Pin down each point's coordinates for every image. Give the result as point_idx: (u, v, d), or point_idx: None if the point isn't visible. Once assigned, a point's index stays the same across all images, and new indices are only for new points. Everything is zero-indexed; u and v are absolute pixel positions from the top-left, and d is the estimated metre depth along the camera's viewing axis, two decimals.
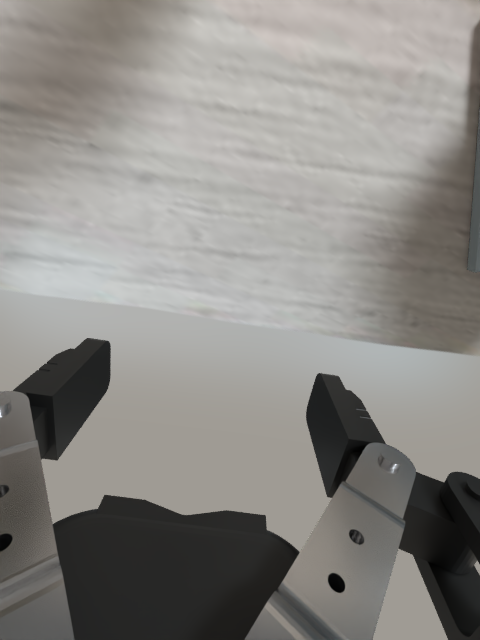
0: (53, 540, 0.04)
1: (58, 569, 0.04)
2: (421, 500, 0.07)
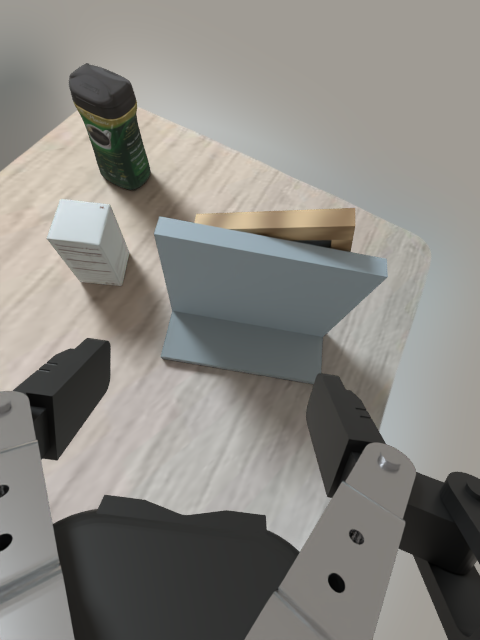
0: (53, 540, 0.04)
1: (58, 569, 0.04)
2: (421, 500, 0.07)
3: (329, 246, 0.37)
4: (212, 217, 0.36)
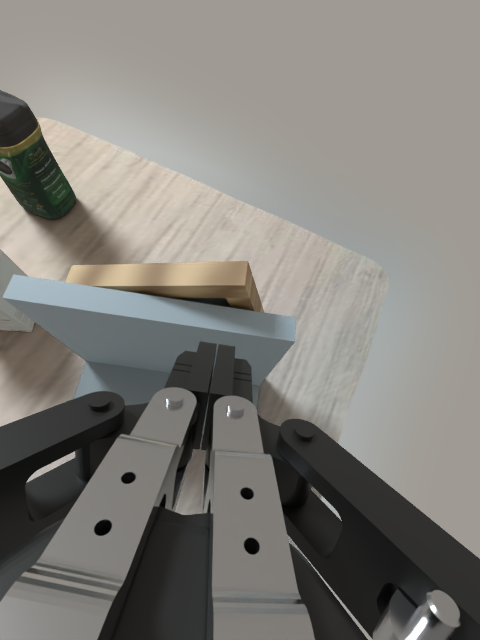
0: (132, 557, 0.04)
1: (113, 595, 0.04)
2: None
3: None
4: (88, 270, 0.30)
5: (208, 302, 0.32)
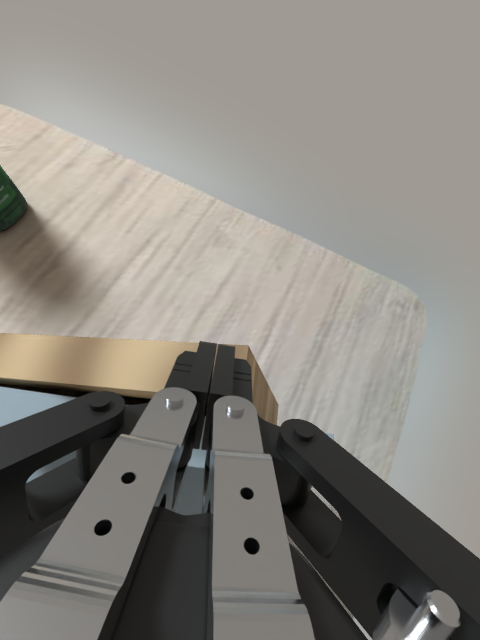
0: (132, 557, 0.04)
1: (112, 595, 0.04)
2: None
3: None
4: None
5: None
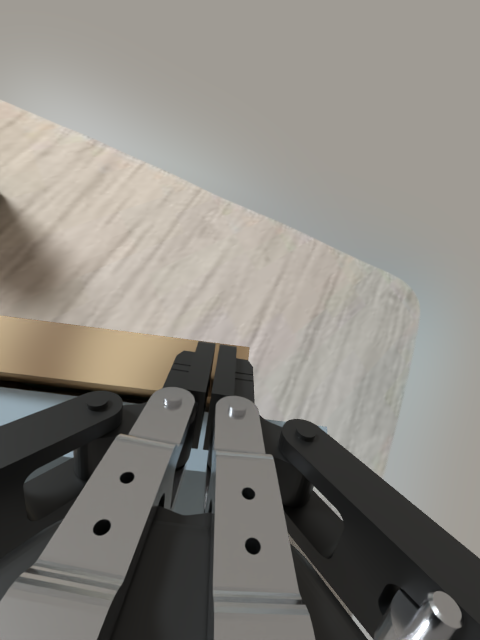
0: (131, 556, 0.04)
1: (112, 594, 0.04)
2: None
3: None
4: None
5: None
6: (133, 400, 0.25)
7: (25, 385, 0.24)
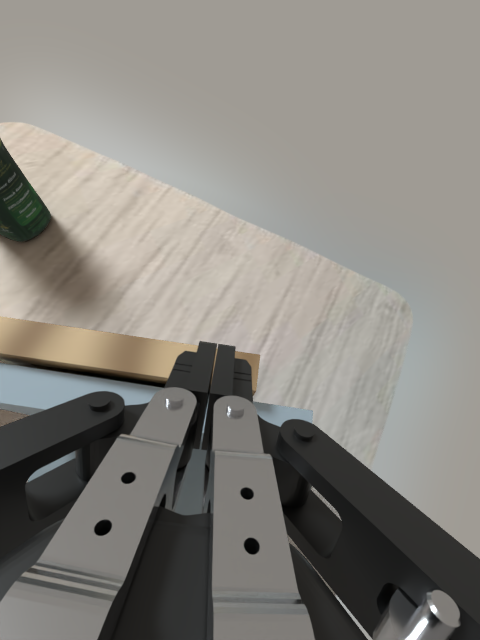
0: (132, 557, 0.04)
1: (113, 595, 0.04)
2: None
3: None
4: (20, 328, 0.20)
5: None
6: None
7: None
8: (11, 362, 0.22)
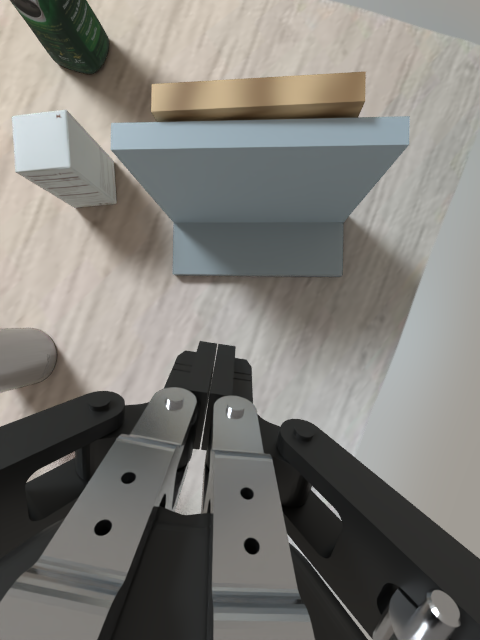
0: (132, 557, 0.04)
1: (112, 595, 0.04)
2: None
3: None
4: (175, 89, 0.27)
5: None
6: None
7: None
8: None
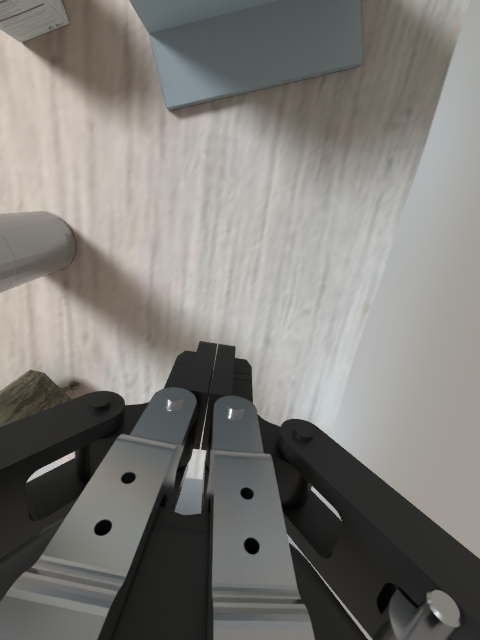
0: (132, 557, 0.04)
1: (112, 595, 0.04)
2: None
3: None
4: None
5: None
6: None
7: None
8: None
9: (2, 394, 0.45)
